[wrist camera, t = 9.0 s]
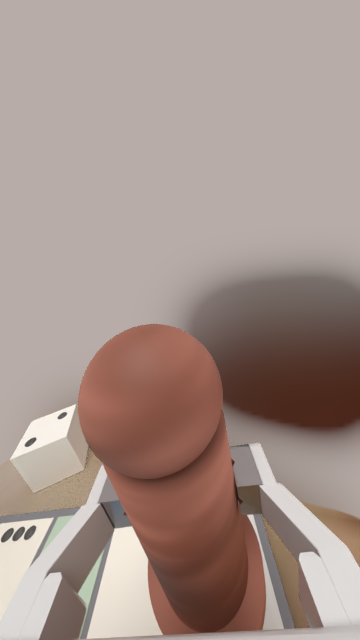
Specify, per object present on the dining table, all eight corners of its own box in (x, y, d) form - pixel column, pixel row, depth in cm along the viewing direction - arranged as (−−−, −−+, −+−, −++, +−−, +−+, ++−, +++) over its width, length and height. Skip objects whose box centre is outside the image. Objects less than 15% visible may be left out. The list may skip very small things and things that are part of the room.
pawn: (144, 683, 8) (-67, 423, 3) (161, 502, 13) (91, 318, 9) (291, 679, 7) (276, 366, 3) (244, 493, 13) (214, 293, 8)
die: (33, 493, 27) (9, 459, 25) (49, 450, 33) (31, 420, 31) (84, 469, 28) (65, 435, 26) (90, 433, 35) (75, 403, 33)
